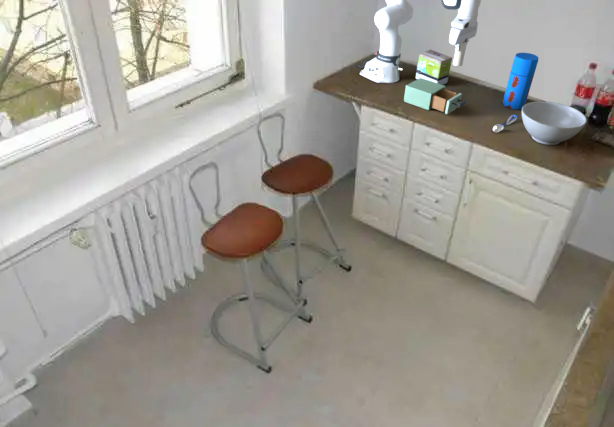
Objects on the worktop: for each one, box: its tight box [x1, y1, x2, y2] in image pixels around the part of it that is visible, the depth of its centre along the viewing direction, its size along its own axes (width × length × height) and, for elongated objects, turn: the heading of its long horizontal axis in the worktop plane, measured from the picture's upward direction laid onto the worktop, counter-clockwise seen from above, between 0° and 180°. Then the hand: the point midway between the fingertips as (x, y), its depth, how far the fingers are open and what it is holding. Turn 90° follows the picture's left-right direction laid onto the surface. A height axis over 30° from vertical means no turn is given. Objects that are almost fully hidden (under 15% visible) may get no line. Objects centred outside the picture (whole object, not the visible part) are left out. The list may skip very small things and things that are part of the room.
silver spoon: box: [492, 114, 518, 134], centre depth 244 cm, size 20×4×5 cm
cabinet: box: [403, 78, 446, 111], centre depth 262 cm, size 15×14×9 cm
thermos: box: [502, 52, 539, 110], centre depth 257 cm, size 11×11×25 cm
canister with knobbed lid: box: [452, 38, 468, 67], centre depth 249 cm, size 5×5×14 cm
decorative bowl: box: [521, 100, 588, 146], centre depth 232 cm, size 27×27×12 cm
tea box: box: [415, 49, 453, 85], centre depth 282 cm, size 15×10×15 cm, turn 41°
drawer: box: [430, 88, 467, 115], centre depth 255 cm, size 18×12×7 cm
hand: (460, 49), depth 249 cm, fingers closed on canister with knobbed lid, 4 cm apart
